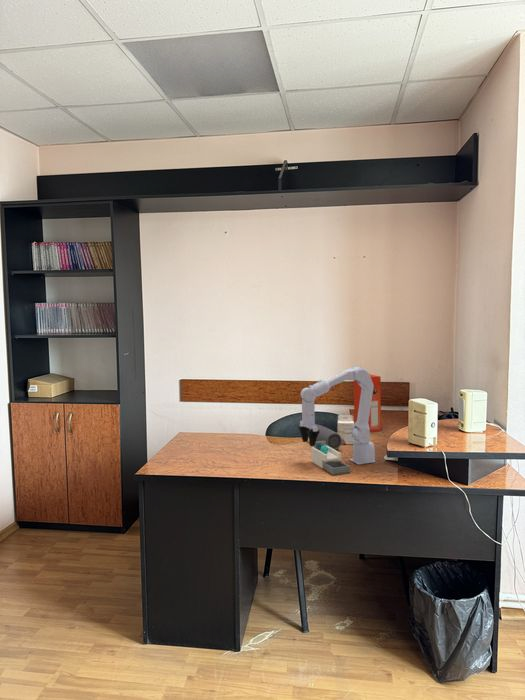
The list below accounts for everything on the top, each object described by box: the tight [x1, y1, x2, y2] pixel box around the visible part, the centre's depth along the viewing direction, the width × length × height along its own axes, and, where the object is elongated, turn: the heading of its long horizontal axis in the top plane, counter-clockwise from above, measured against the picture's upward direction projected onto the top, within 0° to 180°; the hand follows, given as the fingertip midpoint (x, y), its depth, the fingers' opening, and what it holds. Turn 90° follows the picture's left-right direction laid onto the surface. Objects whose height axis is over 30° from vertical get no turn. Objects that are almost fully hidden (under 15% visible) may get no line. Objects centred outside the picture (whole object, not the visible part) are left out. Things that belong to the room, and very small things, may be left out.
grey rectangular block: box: [313, 441, 326, 451], centre depth 224 cm, size 5×2×4 cm, turn 110°
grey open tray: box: [323, 460, 351, 476], centre depth 210 cm, size 8×8×3 cm
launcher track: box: [310, 445, 342, 469], centre depth 219 cm, size 8×14×7 cm, turn 20°
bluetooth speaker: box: [310, 423, 342, 450], centre depth 250 cm, size 23×9×10 cm, turn 21°
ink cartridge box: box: [336, 414, 354, 445], centre depth 254 cm, size 9×5×15 cm, turn 84°
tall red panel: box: [353, 373, 382, 433], centre depth 285 cm, size 8×17×32 cm, turn 19°
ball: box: [321, 445, 328, 453], centre depth 220 cm, size 4×4×4 cm
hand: (308, 443), depth 219 cm, fingers open, 7 cm apart
